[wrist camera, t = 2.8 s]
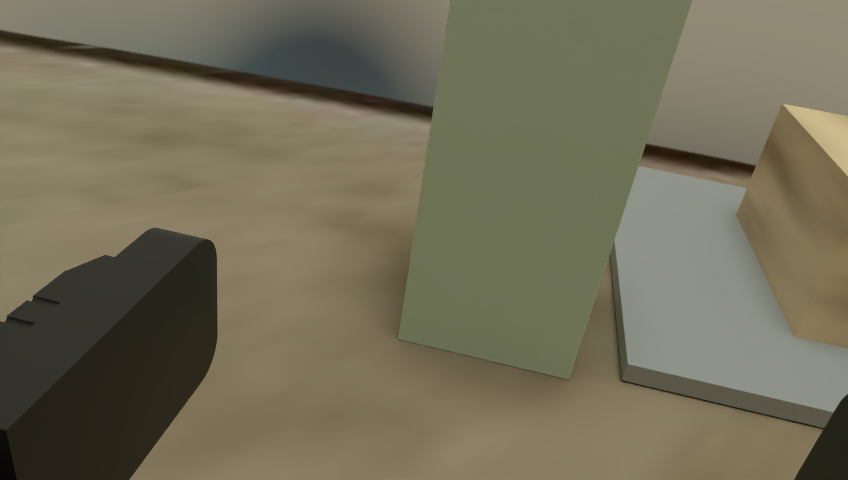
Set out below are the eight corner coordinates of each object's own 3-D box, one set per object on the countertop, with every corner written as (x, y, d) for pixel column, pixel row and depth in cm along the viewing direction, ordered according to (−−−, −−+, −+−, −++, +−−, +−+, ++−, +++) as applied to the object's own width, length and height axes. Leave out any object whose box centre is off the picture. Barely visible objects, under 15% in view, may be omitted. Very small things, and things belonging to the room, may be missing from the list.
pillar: (397, 339, 20) (469, -127, 14) (429, 255, 24) (494, -127, 18) (569, 380, 19) (719, -86, 13) (570, 287, 24) (684, -96, 18)
